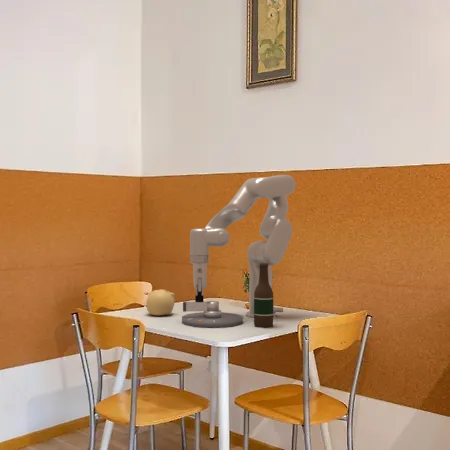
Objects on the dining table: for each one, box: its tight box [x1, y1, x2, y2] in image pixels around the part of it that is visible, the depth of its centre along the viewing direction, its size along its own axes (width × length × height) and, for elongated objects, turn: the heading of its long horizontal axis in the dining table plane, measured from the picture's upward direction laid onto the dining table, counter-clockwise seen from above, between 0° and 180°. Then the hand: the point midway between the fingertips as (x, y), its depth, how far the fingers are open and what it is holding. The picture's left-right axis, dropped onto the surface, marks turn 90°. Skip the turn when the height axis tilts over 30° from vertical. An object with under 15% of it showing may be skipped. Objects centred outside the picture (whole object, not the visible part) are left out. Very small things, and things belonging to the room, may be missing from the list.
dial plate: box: [181, 311, 244, 329], centre depth 244 cm, size 24×24×2 cm
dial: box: [182, 300, 222, 318], centre depth 243 cm, size 15×7×6 cm, turn 95°
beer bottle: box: [253, 263, 274, 328], centre depth 236 cm, size 8×8×24 cm
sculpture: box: [145, 288, 175, 316], centre depth 260 cm, size 11×12×11 cm
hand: (199, 305), depth 246 cm, fingers closed
